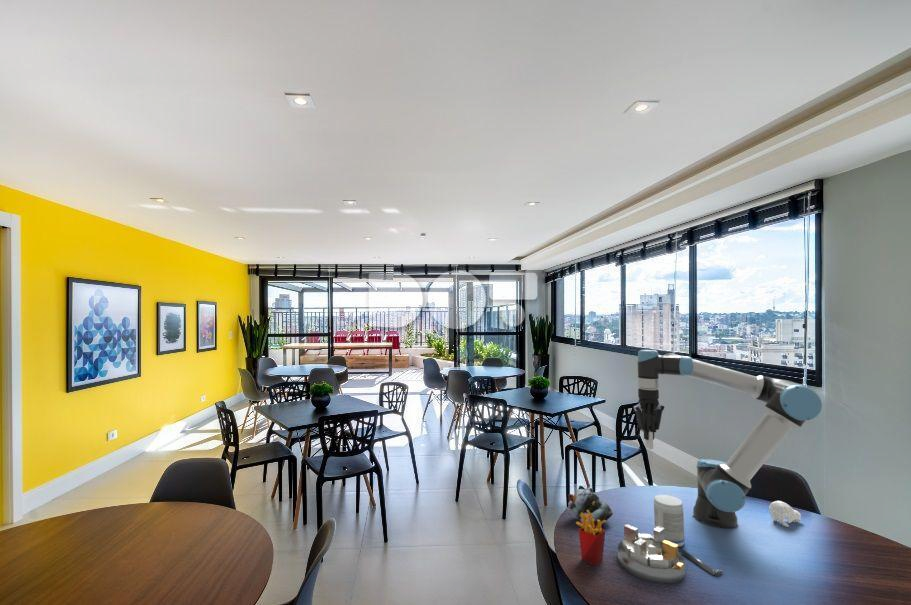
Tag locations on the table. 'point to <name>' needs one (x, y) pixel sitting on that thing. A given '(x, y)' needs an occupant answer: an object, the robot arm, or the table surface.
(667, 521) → the supplement tub
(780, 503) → the white animal figurine
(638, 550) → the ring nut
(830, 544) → the table surface
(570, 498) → the lucky cat figurine
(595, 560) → the french fries
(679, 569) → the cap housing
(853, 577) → the table surface
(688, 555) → the pin spanner
